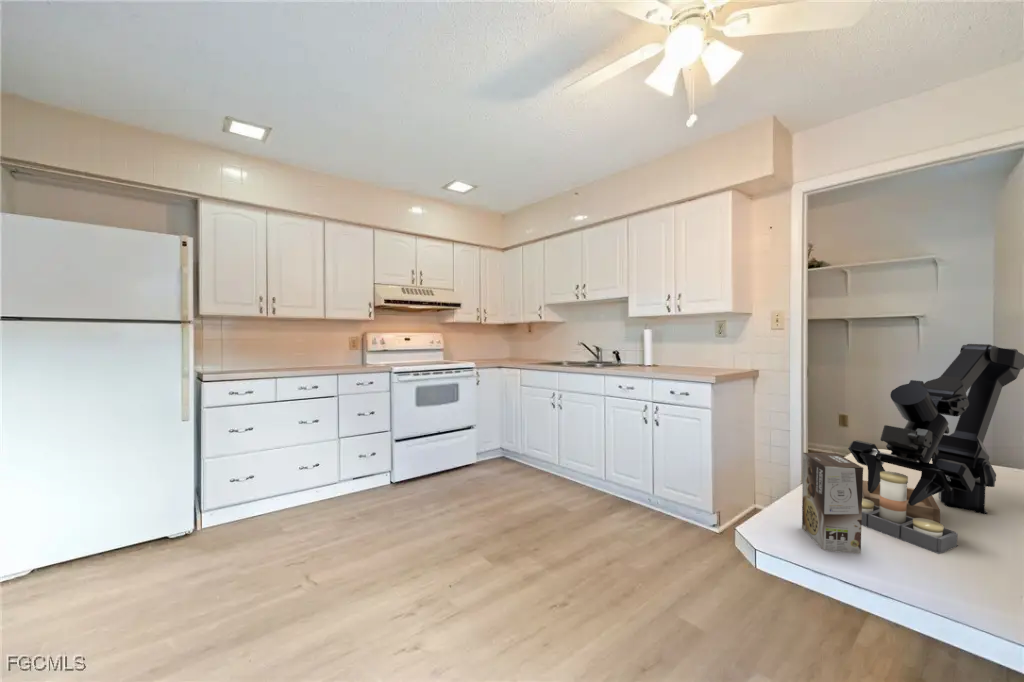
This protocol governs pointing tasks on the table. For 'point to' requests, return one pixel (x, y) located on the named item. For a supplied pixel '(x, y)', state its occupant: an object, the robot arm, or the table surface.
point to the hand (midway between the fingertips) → (889, 497)
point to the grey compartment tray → (910, 532)
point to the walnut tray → (919, 510)
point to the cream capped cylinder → (893, 496)
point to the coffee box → (832, 501)
